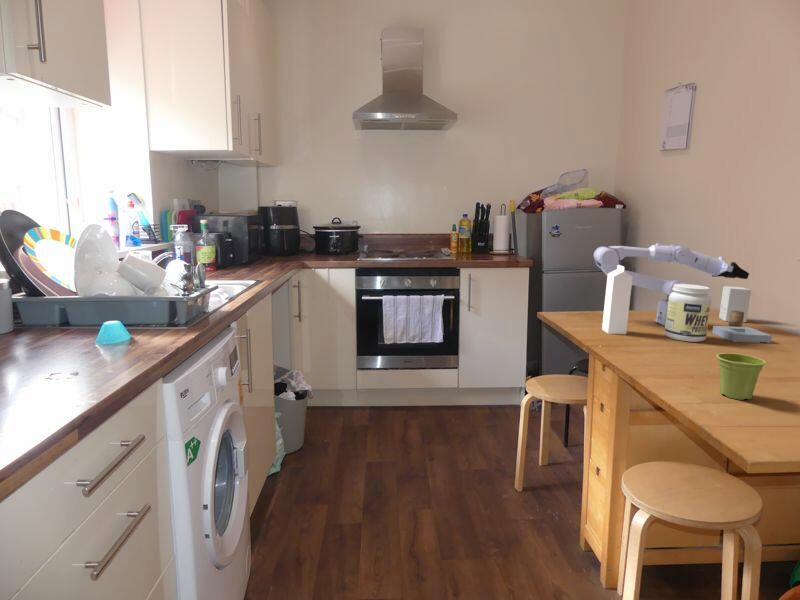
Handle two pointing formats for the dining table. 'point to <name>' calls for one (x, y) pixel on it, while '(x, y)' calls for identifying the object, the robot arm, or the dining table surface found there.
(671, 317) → the supplement tub
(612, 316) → the milk
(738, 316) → the dowel
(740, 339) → the socket block
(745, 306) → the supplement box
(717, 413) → the dining table surface
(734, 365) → the plant pot
